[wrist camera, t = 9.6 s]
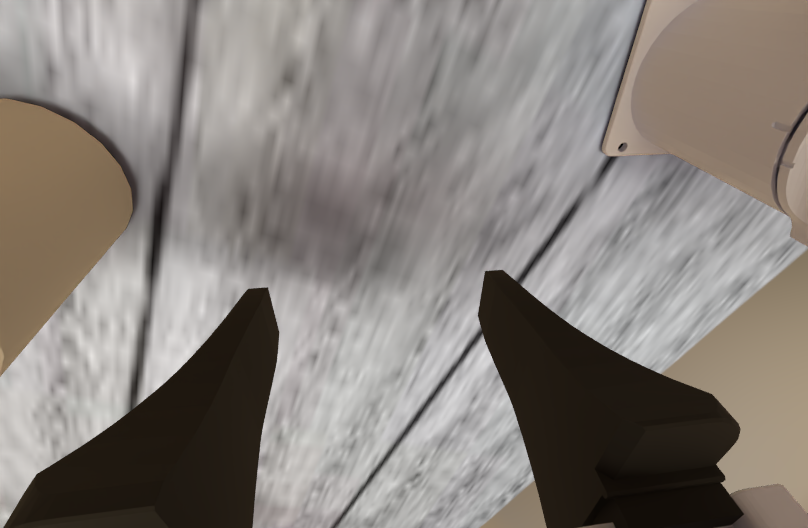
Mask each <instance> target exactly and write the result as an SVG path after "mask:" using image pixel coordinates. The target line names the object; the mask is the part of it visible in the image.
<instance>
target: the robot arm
mask: <svg viewBox="0 0 808 528" xmlns="http://www.w3.org/2000/svg"><path fill="white" fill-rule="evenodd" d="M622 143H623V146H622V147H621V148H620V149H618V147H619V145H620V144H622ZM602 151H603V153H605V154H606V155H607V156H629V155H653V154H673V155H675V156H677V157H679V158H681V159H682V160H684V161H686V162H688V163H690V164H692V165H694V166H696V167H697V168H699V169H701V170H703V171H705V172H707V173H709V174H711V175H712V176H714V177H716V178H718V179H720V180H722V181H724V182H726V183H727V184H729V185H731V186H733V187H735V188H737V189H739V190H741V191H742V192H744V193H746V194H748V195H750V196H752V197H754V198H756V199H757V200H759V201H761V202H763V203H765V204H767V205H769V206H771V207H773V208H774V209H776V210H778V211H780V212H782V213H784V214H786V215H788V216H789V217H790V218H791V221H792V229H791V233H790V237H792V238H794V239H795V240H797V241H799V242H801V243H802V244H804V245H806V246H807V247H808V0H647V2H646V6H645V9H644V12H643V15H642V18H641V22H640V25H639V28H638V31H637V35H636V38H635V41H634V44H633V48H632V51H631V54H630V57H629V61H628V64H627V67H626V70H625V74H624V77H623V80H622V83H621V86H620V90H619V93H618V96H617V99H616V103H615V106H614V109H613V112H612V116H611V119H610V122H609V125H608V129H607V132H606V135H605V138H604V142H603V145H602ZM478 317H479V321H480V325H481V329H482V332H483V335H484V339H485V342H486V344H487V347H488V349H489V351H490V354H491V356H492V358H493V361H494V363H495V365H496V368H497V370H498V372H499V375H500V377H501V379H502V381H503V384H504V386H505V388H506V391H507V393H508V395H509V398H510V400H511V403H512V405H513V408H514V411H515V414H516V417H517V421H518V424H519V427H520V430H521V433H522V436H523V440H524V443H525V447H526V450H527V453H528V457H529V460H530V464H531V467H532V471H533V475H534V479H535V482H536V486H537V490H538V493H539V497H540V502H541V506H542V510H543V514H544V518H545V522H546V526H547V528H808V513H807V512H806V511H805V510H804V509H803V508H802V507H801V505H800V504H799V503H798V502H797V501H796V500H795V499H794V498H793V496H792V495H791V494H790V493H789V492H788V491H787V489H786V488H785V487H784V486H783V485H780V484H774V485H767V486H761V487H754V488H747V489H742V490H738V491H736V492H734V493H731V494H730V495H729V493H728V492H727V491H726V489H725V488H724V487H723V485H722V484H721V483H720V482H723V481H724V480H725V476H724V474H723V473H722V472H721V470H719V468H718V467H717V465H716V464H717V462H718V461H719V460H720V459H721V458H722V457H723V456H724V455H725V454H726V453H727V452H728V451H729V450H730V448H731V447H732V446H733V445H734V444H735V442H736V441H737V440H738V437H739V434H740V427H739V424H738V423H737V422H736V420H735V419H734V418H733V417H732V416H731V415H730V414H729V413H728V411H727V410H726V409H725V408H724V407H723V406H722V405H721V404H720V403H719V401H718V400H717V399H716V398H715V397H714V396H713V395H712V394H710V393H707V392H704V391H702V390H699V389H697V388H694V387H692V386H689V385H686V384H684V383H681V382H678V381H676V380H673V379H671V378H668V377H666V376H664V375H662V374H659V373H657V372H655V371H653V370H650V369H648V368H646V367H644V366H642V365H640V364H638V363H635V362H633V361H631V360H629V359H627V358H626V357H624V356H622V355H620V354H618V353H616V352H614V351H612V350H610V349H609V348H607V347H605V346H603V345H602V344H600V343H598V342H597V341H595V340H593V339H592V338H590V337H589V336H587V335H585V334H584V333H582V332H581V331H579V330H578V329H576V328H575V327H573V326H572V325H570V324H569V323H567V322H566V321H565V320H563V319H562V318H561V317H559V316H558V315H556V314H555V313H554V312H553V311H551V310H550V309H549V308H547V307H546V306H545V305H544V304H542V303H541V302H540V301H539V300H537V299H536V298H535V297H534V296H533V295H531V294H530V293H529V292H528V291H527V290H525V289H524V288H523V287H522V286H521V285H520V284H518V283H517V282H516V281H515V280H514V279H513V278H511V277H510V276H509V275H508V274H507V273H506V272H504V271H503V270H495V271H485V275H484V281H483V287H482V294H481V300H480V306H479V312H478ZM278 342H279V330H278V326H277V322H276V318H275V314H274V310H273V306H272V302H271V298H270V294H269V290H268V287H267V288H254V289H248V290H247V291H246V292H245V293H244V294H243V296H242V297H241V298H240V300H239V301H238V302H237V304H236V305H235V306H234V307H233V309H232V310H231V311H230V313H229V314H228V315H227V316H226V318H225V319H224V320H223V321H222V323H221V324H220V325H219V326H218V327H217V329H216V330H215V331H214V332H213V334H212V335H211V336H210V337H209V338H208V339H207V341H206V342H205V343H204V344H203V345H202V346H201V347H200V348H199V349H198V350H197V351H196V353H195V354H194V355H193V356H192V357H191V358H190V359H189V360H188V361H187V362H186V363H185V364H184V365H183V366H182V367H181V368H180V369H179V370H178V371H177V372H176V373H175V374H174V375H173V376H172V377H171V378H170V379H169V380H168V381H166V382H165V383H164V384H163V385H162V386H161V387H160V388H159V389H157V390H156V391H155V392H154V393H152V394H151V395H150V396H149V397H148V398H146V399H145V400H144V401H143V402H141V403H140V404H139V405H138V406H137V407H135V408H134V409H133V410H132V411H130V412H129V413H128V414H126V415H125V416H124V417H122V418H121V419H120V420H118V421H117V422H116V423H114V424H113V425H112V426H110V427H109V428H107V429H106V430H105V431H103V432H102V433H100V434H99V435H97V436H96V437H95V438H93V439H92V440H90V441H89V442H87V443H86V444H84V445H83V446H81V447H80V448H78V449H76V450H75V451H73V452H72V453H70V454H68V455H67V456H65V457H64V458H62V459H61V460H59V461H57V462H56V463H54V464H53V465H51V466H50V467H48V468H46V469H45V470H43V471H41V472H40V473H38V474H37V475H36V476H35V478H34V479H33V481H32V482H31V484H30V485H29V487H28V488H27V490H26V491H25V493H24V494H23V496H22V498H21V499H20V501H19V503H18V504H17V506H16V508H15V509H14V511H13V513H12V514H11V516H10V518H9V519H8V521H7V523H6V524H5V526H4V528H252V527H253V514H254V501H255V490H256V479H257V469H258V460H259V451H260V442H261V435H262V429H263V423H264V419H265V414H266V409H267V405H268V400H269V396H270V391H271V387H272V382H273V377H274V372H275V368H276V363H277V354H278Z"/></svg>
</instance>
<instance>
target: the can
mask: <svg viewBox="0 0 808 528" xmlns="http://www.w3.org/2000/svg"><path fill="white" fill-rule="evenodd" d="M132 212H133V205H132V193H131V188H130V186H129V184H128V181H127V179H126V177H125V175H124V173H123V170H122V168H121V166H120V165H119V164H118V163H117V161H116V160H115V159H114V158H113V157H112V155H111V154H110V153H109V152H108V151H107V149H106V148H105V147H104V146H103V145H102V143H100V142H99V141H98V140H97V139H95V138H94V137H93V136H91V135H90V134H89V133H87V132H86V131H85V130H83V129H82V128H81V127H79V126H78V125H77V124H76V123H74V122H72V121H70V120H68V119H66V118H64V117H62V116H60V115H58V114H56V113H54V112H52V111H49V110H47V109H45V108H43V107H41V106H37V105H32V104H28V103H24V102H19V101H15V100H11V99H0V376H1V375H2V374H3V373H4V372H5V370H6V369H7V368H8V367H9V366H10V364H11V363H12V362H13V361H14V360H15V359H16V357H17V356H18V355H19V354H20V353H21V352H22V350H23V349H24V348H25V347H26V346H27V344H28V343H29V342H30V341H31V340H32V339H33V337H34V336H35V335H36V334H37V333H38V332H39V330H40V329H41V328H42V327H43V326H44V324H45V323H46V322H47V321H48V320H49V319H50V317H51V316H52V315H53V314H54V313H55V311H56V310H57V309H58V308H59V307H60V306H61V304H62V303H63V302H64V301H65V300H66V299H67V297H68V296H69V295H70V294H71V293H72V291H73V290H74V289H75V288H76V287H77V286H78V284H79V283H80V282H81V281H82V280H83V279H84V277H85V276H86V275H87V274H88V273H89V271H90V270H91V269H92V268H93V267H94V266H95V264H96V263H97V262H98V261H99V260H100V258H101V257H102V256H103V255H104V254H105V253H106V251H107V250H108V249H109V248H110V247H111V246H112V244H113V243H114V242H115V241H116V240H117V238H118V237H119V236H120V235H121V234H122V233H123V231H124V230H125V229H126V228H127V225H128V222H129V220H130V217H131V214H132Z"/></svg>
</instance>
